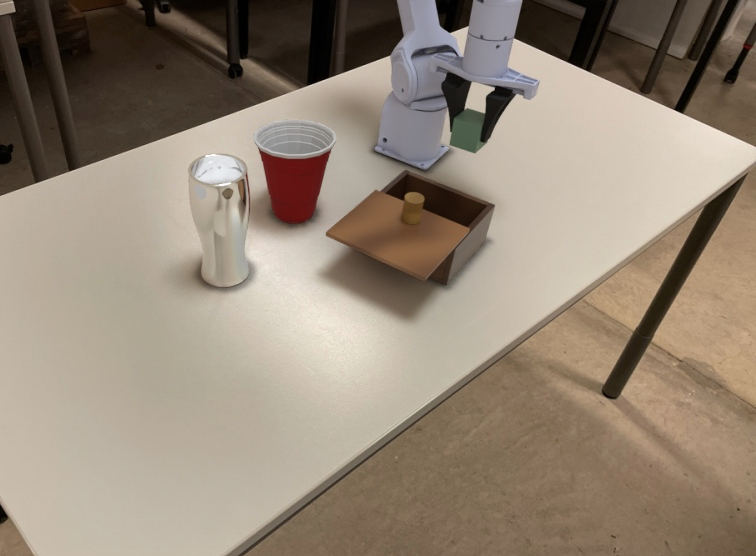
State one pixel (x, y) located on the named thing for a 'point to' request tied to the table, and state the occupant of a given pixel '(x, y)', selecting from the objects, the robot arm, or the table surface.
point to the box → (448, 216)
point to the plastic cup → (294, 165)
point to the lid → (399, 233)
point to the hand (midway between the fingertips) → (470, 134)
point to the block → (468, 130)
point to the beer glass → (221, 216)
